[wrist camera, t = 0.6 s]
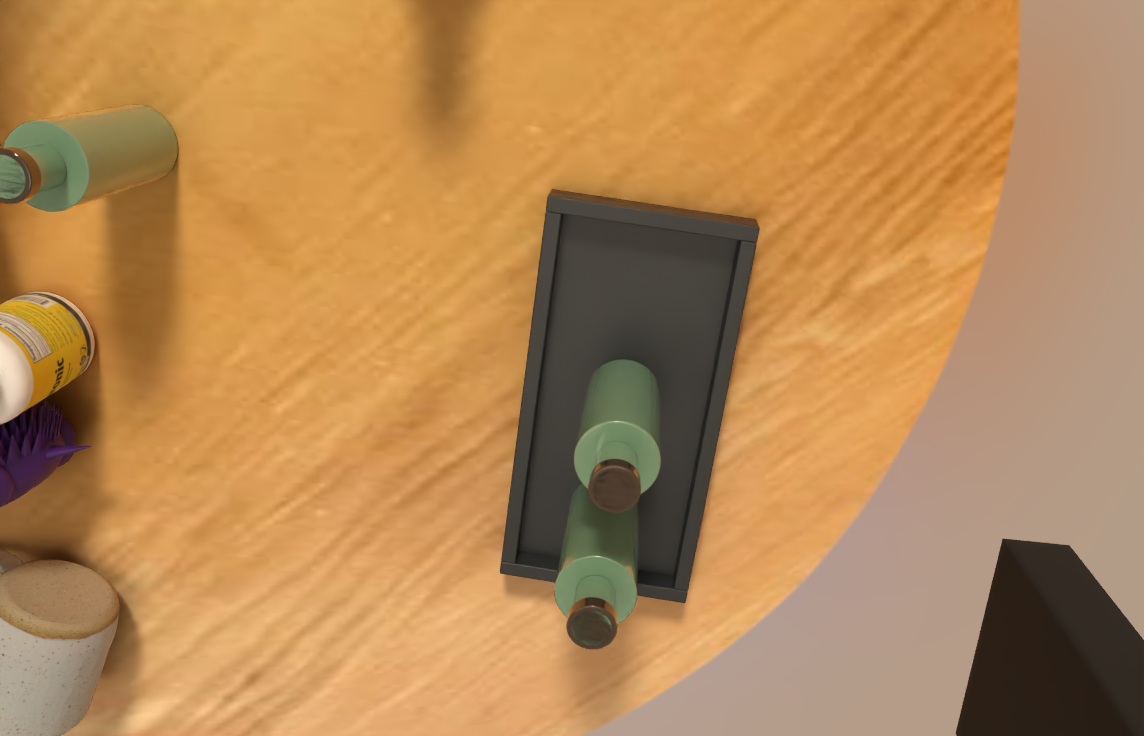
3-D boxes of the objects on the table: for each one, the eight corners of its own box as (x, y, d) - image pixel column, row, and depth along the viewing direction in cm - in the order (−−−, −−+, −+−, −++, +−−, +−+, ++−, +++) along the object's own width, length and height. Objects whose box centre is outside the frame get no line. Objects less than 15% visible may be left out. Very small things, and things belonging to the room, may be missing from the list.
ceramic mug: (149, 583, 63) (80, 655, 55) (113, 684, 65) (43, 767, 58) (-14, 511, 62) (-106, 575, 55) (-44, 617, 65) (-134, 691, 58)
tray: (551, 189, 53) (547, 195, 51) (756, 219, 53) (760, 227, 51) (504, 555, 60) (499, 573, 58) (684, 584, 60) (685, 603, 58)
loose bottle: (103, 98, 53) (-46, 120, 42) (178, 110, 53) (49, 135, 42) (104, 175, 55) (-40, 217, 43) (178, 186, 55) (53, 231, 43)
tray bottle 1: (591, 353, 55) (574, 440, 44) (665, 365, 55) (668, 454, 44) (581, 422, 57) (562, 523, 45) (653, 433, 56) (652, 537, 45)
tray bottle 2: (574, 471, 58) (553, 582, 46) (645, 482, 57) (642, 596, 46) (564, 534, 59) (542, 658, 48) (634, 545, 59) (628, 671, 47)
